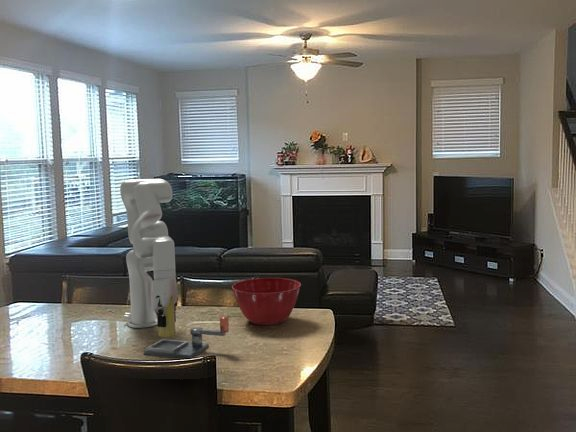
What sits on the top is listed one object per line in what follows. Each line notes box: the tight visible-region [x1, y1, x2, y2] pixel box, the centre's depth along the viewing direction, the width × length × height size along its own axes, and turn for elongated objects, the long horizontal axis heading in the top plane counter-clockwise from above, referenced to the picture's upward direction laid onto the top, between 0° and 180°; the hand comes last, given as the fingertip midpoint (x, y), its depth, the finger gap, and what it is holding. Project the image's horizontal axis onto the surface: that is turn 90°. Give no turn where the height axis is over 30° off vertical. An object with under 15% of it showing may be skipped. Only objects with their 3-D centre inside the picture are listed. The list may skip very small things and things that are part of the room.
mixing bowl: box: [231, 277, 302, 326], centre depth 250 cm, size 28×28×16 cm
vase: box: [158, 295, 177, 338], centre depth 212 cm, size 6×6×14 cm
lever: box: [189, 316, 230, 337], centre depth 213 cm, size 15×4×6 cm, turn 71°
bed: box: [143, 334, 210, 359], centre depth 213 cm, size 18×14×5 cm
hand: (166, 324), depth 213 cm, fingers closed on vase, 5 cm apart
